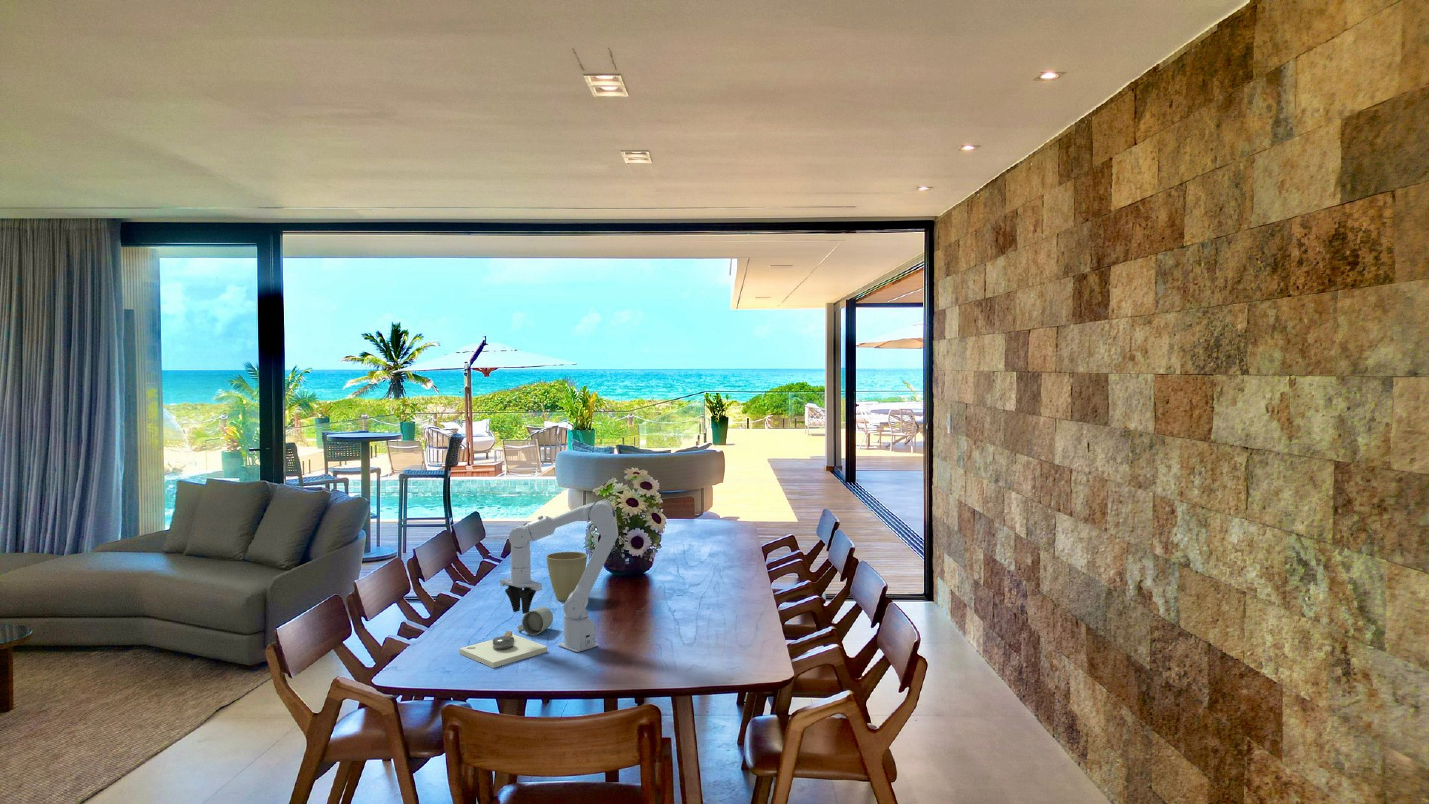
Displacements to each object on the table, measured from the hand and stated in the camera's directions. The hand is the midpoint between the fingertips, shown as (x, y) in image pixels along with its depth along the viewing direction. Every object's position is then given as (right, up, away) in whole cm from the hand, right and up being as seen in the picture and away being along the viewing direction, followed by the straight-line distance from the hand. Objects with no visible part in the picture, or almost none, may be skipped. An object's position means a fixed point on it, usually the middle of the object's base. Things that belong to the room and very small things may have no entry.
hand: (521, 612), depth 232 cm
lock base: (-4, -11, -5) cm, 12 cm away
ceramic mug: (0, -11, +15) cm, 18 cm away
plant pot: (+3, -10, +55) cm, 56 cm away
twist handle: (-4, -9, -3) cm, 10 cm away
